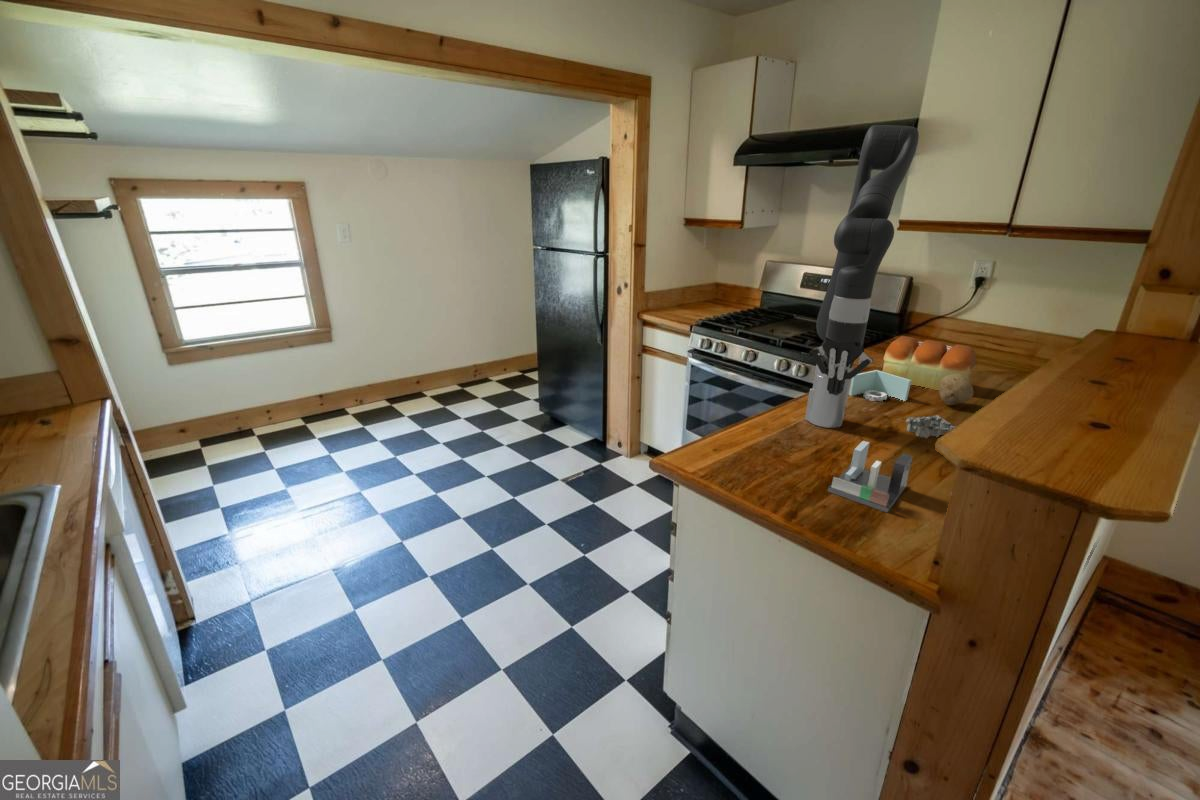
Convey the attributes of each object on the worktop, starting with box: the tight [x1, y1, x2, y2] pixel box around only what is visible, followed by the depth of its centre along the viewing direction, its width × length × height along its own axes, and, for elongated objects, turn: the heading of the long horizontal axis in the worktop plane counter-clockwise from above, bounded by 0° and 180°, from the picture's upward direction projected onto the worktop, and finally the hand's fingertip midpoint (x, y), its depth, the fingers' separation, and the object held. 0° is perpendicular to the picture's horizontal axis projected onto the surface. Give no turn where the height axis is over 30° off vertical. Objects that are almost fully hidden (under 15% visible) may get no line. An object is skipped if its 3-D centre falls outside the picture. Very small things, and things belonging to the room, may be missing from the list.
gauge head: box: [845, 440, 871, 481], centre depth 115 cm, size 1×10×7 cm, turn 137°
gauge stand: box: [827, 453, 914, 513], centre depth 113 cm, size 12×14×8 cm
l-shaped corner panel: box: [848, 369, 911, 402], centre depth 165 cm, size 12×12×8 cm
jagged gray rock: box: [905, 414, 957, 439], centre depth 142 cm, size 11×8×4 cm
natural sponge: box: [938, 374, 974, 406], centre depth 159 cm, size 9×9×10 cm
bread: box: [881, 335, 977, 391], centre depth 178 cm, size 25×12×15 cm, turn 47°
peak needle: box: [867, 460, 883, 489], centre depth 109 cm, size 1×4×7 cm, turn 137°
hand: (834, 393), depth 116 cm, fingers closed
